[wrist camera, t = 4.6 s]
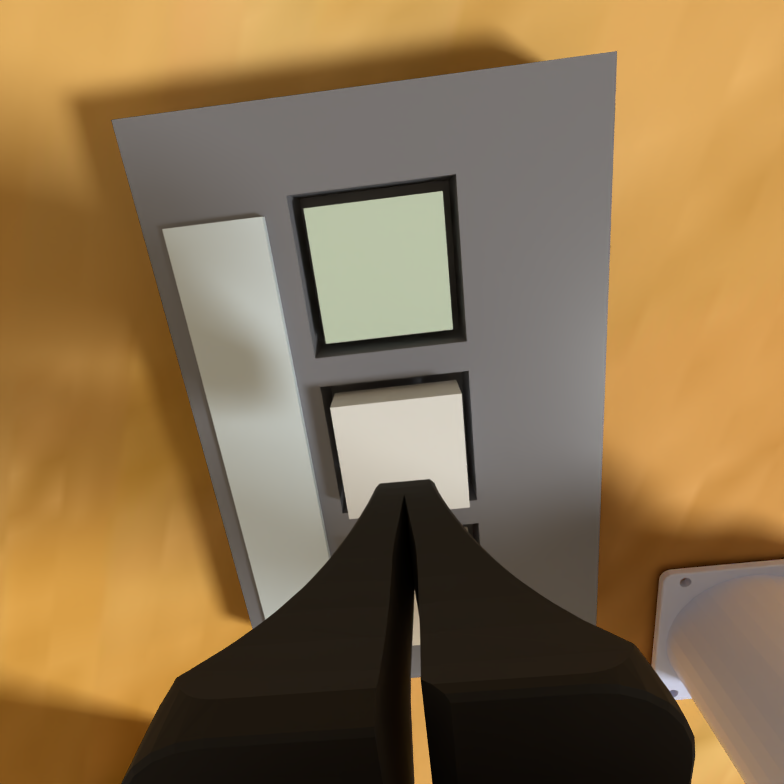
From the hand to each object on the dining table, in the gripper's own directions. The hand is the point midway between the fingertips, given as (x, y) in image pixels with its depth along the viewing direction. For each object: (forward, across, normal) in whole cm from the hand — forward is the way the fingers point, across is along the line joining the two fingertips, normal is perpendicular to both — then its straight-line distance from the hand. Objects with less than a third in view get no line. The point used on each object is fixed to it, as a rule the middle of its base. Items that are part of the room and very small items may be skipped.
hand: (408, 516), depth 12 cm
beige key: (+6, 0, +1) cm, 6 cm away
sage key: (+7, 0, -5) cm, 9 cm away
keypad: (+8, 0, +1) cm, 8 cm away
